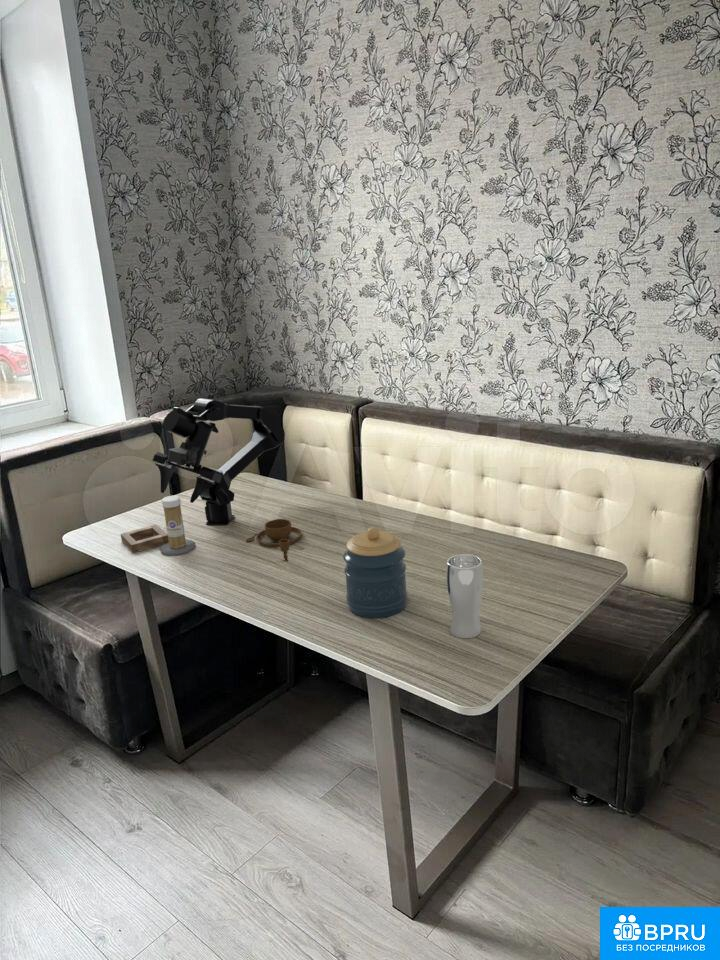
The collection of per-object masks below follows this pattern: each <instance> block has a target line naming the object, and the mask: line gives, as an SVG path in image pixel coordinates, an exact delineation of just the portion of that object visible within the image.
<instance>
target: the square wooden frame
mask: <svg viewBox="0 0 720 960" xmlns="http://www.w3.org/2000/svg"><path fill="white" fill-rule="evenodd" d="M120 539H121V542H122V543H123V544H124V545H125V546H126V547H127V548H128V549H129V550H130V552H131V553H132V554H133V553H137V552H140V551H145V550H148V549H152V548H156V547H159V546H162V545H164V544H165V543H168V542H169V539H168V535H167V531H165V530H164V529H162V528H161V527H160V526H159V525H158V524H153V525H149V526H146V527H141V528H138V529H133V530H131V531H127V532H123V533H120Z"/></svg>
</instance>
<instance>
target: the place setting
mask: <svg viewBox="0 0 720 960" xmlns="http://www.w3.org/2000/svg"><path fill="white" fill-rule="evenodd" d="M292 533H295V534H296V535H298V536H297V537H296V538H294V539H291V540H289V538H288V537H290V536H291V534H292ZM302 533H303V532H302V530H301V529H300V528H298V527H295V526H292V522H291V521H290V520H288V519H285V518H277V519H272V520H269V521H267V522H266V523H265V524H264V530H262V531H261V530H260V532H258V533H255V534H254V535H253V536H250V537H248V538H246V539H245V542H246V543H250V542H253V541H254V539H255V537H256V541H257V543H258V544H259V545H260V546H263V547H266V548H279V551H281V552H283V559H284V560H283V562H285V561H286V562H289V559H288V558H289V555H288V552H289V550H290V546H291V545H293V544H296V543H298V542H299V541H300V539H302ZM264 536H266V537H267V538H269V539H270V540H272V541H273V542H278V543H272V542H270V543H269V542H264V541H262V538H264ZM298 550H304V548H298Z"/></svg>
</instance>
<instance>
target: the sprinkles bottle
mask: <svg viewBox="0 0 720 960" xmlns="http://www.w3.org/2000/svg"><path fill="white" fill-rule="evenodd" d="M161 504H162V507H163V511H164V512H163V513H164V520H165V528H166V533H167V535H168V539H169V547H170V548H172V549H178V548H182V547H184V546H185V545H186V540H185V539H186V535H185V534H186V533H185V527H184V521H183V520H184V519H183V513H182V508H181V507H182V506H181V504H182V503H181V498H180V496H178V495H168V496H164V497H163V498H162V499H161Z"/></svg>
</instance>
